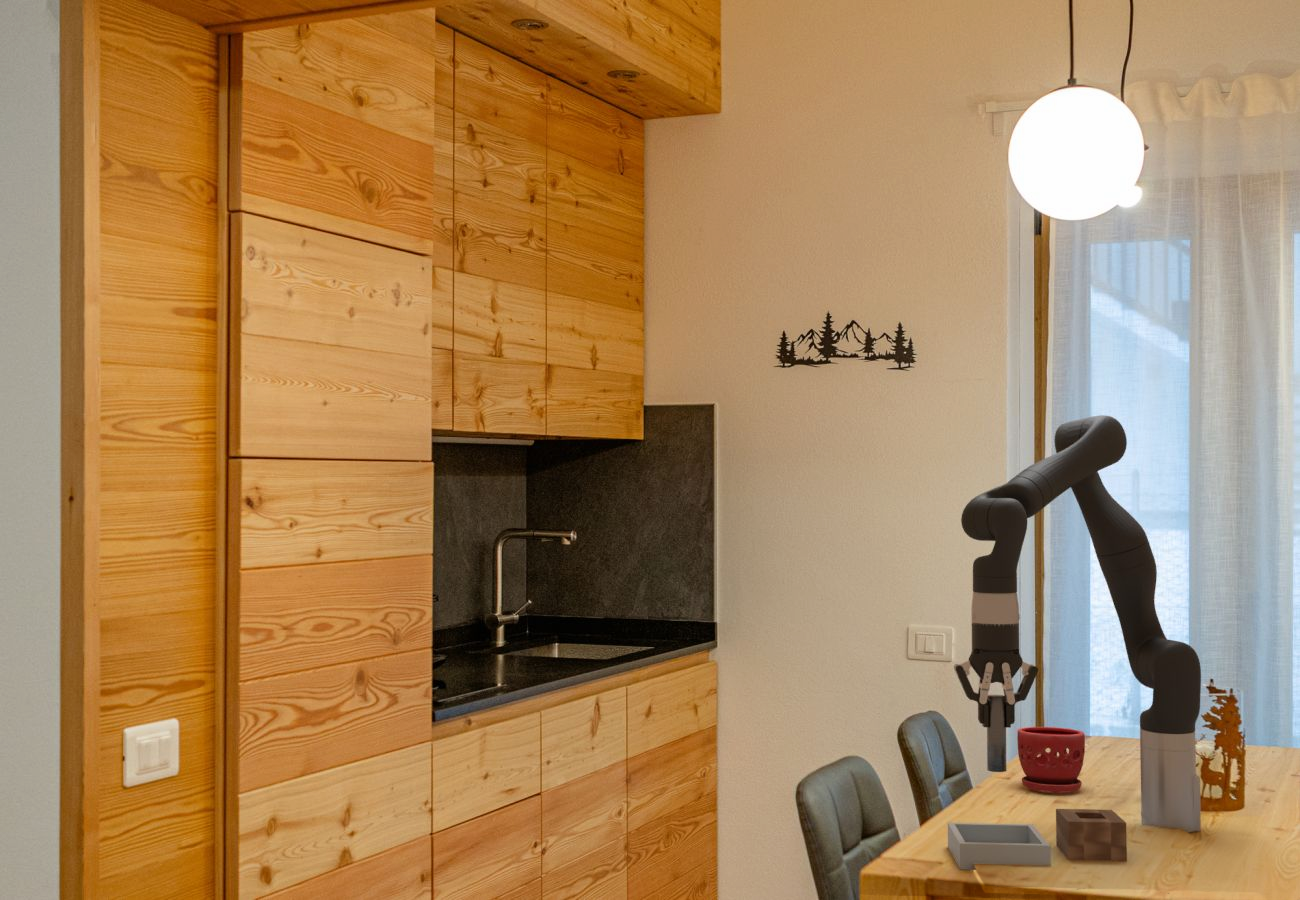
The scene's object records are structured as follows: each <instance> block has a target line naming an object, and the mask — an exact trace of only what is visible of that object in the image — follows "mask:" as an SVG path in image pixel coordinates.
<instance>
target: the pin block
mask: <svg viewBox="0 0 1300 900" xmlns="http://www.w3.org/2000/svg"><path fill="white" fill-rule="evenodd" d="M1055 834H1056V835H1055V839H1056V841H1055V842H1056V844H1055V845H1056V847H1057V848H1058V849H1059V851H1060V852H1061V853H1062V854H1063V855H1064V856H1065V857H1066V859H1067V860H1068V861H1090V862H1091V861H1095V862H1097V861H1098V862H1099V861H1100V862H1127V861H1128V850H1127V849H1128V848H1127V847H1128V846H1127V845H1128V844H1127V843H1128V842H1127V841H1128V840H1127V822H1126V821H1125V820H1124V819H1123V818H1122V817H1121V816H1119V815H1118V814H1117V813H1116V812H1115V811H1114V810H1113V809H1096V808H1095V809H1090V808H1086V809H1085V808H1055Z"/></svg>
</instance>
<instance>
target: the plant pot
mask: <svg viewBox="0 0 1300 900" xmlns="http://www.w3.org/2000/svg"><path fill="white" fill-rule="evenodd" d="M1016 735H1017V736H1016V737H1017V739H1016V740H1017V741H1016V742H1017V754H1018V760H1019V763H1020V766H1021V769H1022V772H1023V773H1024V774H1025V776H1022V778H1021V783H1022V784H1023V786H1024V787H1025V788H1027V789H1029V790H1032V791H1034V792H1038V793H1039V792H1040V793H1045V794H1055V795H1060V794H1070V793H1073V792H1077V791H1078V790H1079V789H1080V788H1081V786H1082V780H1080V779H1078V777H1079V776H1080V774H1081V771H1082V769H1083V765H1084V759H1085V758H1084V757H1085V752H1086V751H1085V749H1086V748H1085V747H1086V740H1085V739H1086V738H1085V736H1086V734H1085V732H1083V731H1082V730H1078V729H1072V728H1065V727H1055V726H1053V727H1050V726H1030V727H1023V728H1022V727H1021V728H1018V729H1017V734H1016ZM1047 749H1049V750H1050V751H1049V752H1047V751H1046V750H1047ZM1067 749H1068V751H1067Z"/></svg>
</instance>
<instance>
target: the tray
mask: <svg viewBox="0 0 1300 900" xmlns="http://www.w3.org/2000/svg"><path fill="white" fill-rule="evenodd" d="M947 848H948V850H949V852H950V853H951V855H952V857H953V859H954V861H955V863H956V864H957V866H958V869H959V870H966V871H967V870H971V871H977V868H976V866H975V865H976V864H977V865H978V864H979V865H985V864H986V865H1018V866H1019V865H1020V866H1051V865H1052V861H1051V860H1052V858H1051V857H1052V854H1051V851H1052V850H1051V849H1052V848H1051V845H1050V843H1049V842H1048V840H1046V838H1045V837H1044V836H1043V834H1041V832H1040V831H1039V830H1038V828H1037V827H1036V826H1035V825H1034V824H1031V823H1027V824H1025V823H988V822H987V823H985V822H983V823H982V822H974V823H973V822H947ZM974 864H975V865H974Z"/></svg>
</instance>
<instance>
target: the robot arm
mask: <svg viewBox="0 0 1300 900" xmlns="http://www.w3.org/2000/svg"><path fill="white" fill-rule="evenodd" d="M1127 441H1128V439H1127V435H1126V432H1125V428H1124V427H1123V425H1122V423H1121V422H1119V420H1118V419H1117V418H1114V417H1113V416H1111V415H1105V414H1104V415H1103V414H1102V415H1100V414H1099V415H1095V416H1089V417H1085V418H1080V419H1076V420H1070V421H1068V422H1065V423H1062V424H1061V425H1059V426H1058V427H1057V429H1056V430H1055V434H1054V448H1055V454H1052V455H1050V456H1047V457H1046V458H1044V459H1041V460H1039V461H1037V462H1035V463H1033V464H1031V465H1029V466H1027V468H1025V469H1023V470H1022V471H1020V472H1019V473H1018V474H1016V475H1015V476H1014V477H1013V478H1011V479H1010V480H1009V481H1008V482H1005V484H1002V485H999V486H996V487H994V488H992V489H989V490H986V491H985V492H982V493H980V494H978V495H977V496H975V497H974V498H971V500H970V501H969V502H968V503H967V504H966V506H965V507H964V508H963V511H962V513H961V519H960V522H961V527H962V529H963V531H964V533H965V534H966V535H967V536H968V537H969V538H970V539H973V540H976V541H980V542H981V541H984V542H987V541H988V542H989V541H990V542H994V545H993V548H992V550H991V553H989V554H987V555H983V556H978V557H976V558H975V560H974V561H973V563H972V600H971V653H970V655H969V657H968V660H966V661H965V662H962V663H960V664H959V663H956V664H954V666H953V669H954V672H955V674H956V676H957V678H958V680H959V683H960V685H961V687H962V690H963V691H964V694H965V696H966V697H967V698H968V699H969V700H970V701H974V702H977V719H978V722H979V723H980V725H982V727H983V728H987V727H988V726H989V722H988V704H987V697H988V695H989V692H990V687H991V684H995V683H1000V684H1001V688H1002V690H1003V691H1002V692H1003V695H1004V696H1006V729H1007V728H1010V729H1011V727H1012V725H1014V723H1015V721H1016V716H1015V713H1016V711H1015V709H1016V707H1015V706H1016V704H1017V703H1019V702H1021V701H1026V700H1027V698H1028V696H1029V695H1028V694H1029V693H1030V690H1031V688H1032V685H1033V683H1034V682H1035V679H1036V677H1037V676H1038V675H1037V674H1038V672H1039V668H1038V667H1037V666H1035V665H1034V664H1029V663H1027V662H1025V661H1023V658H1022V656H1021V653H1020V618H1021V617H1020V606H1019V600H1018V599H1019V598H1018V572H1017V571H1018V566H1019V560H1020V557H1021V553H1022V549H1023V544H1024V541H1025V539H1026V533H1027V530H1028V519H1029V518H1031V517H1034V516H1035V515H1037V514H1038V513H1040V511H1041V510H1043V509H1044V508H1046V507H1047V506H1048V505H1049V504H1051V503H1052V502H1053V501H1054V500H1055V499H1057V498H1058V497H1059V496H1060V495H1062V494H1063V493H1064V492H1066V491H1068V490H1070V489H1071V491H1072V493H1073V494H1074V497H1075V499H1076V502H1077V504H1078V506H1079V509H1080V511H1081V514H1082V517H1083V518H1084V521H1085V522H1084V523H1085V524H1086V527H1087V530H1088V533H1089V536H1090V538H1091V542H1092V545H1093V548H1094V552H1095V555H1096V558H1097V560H1098V564H1099V566H1100V569H1101V571H1102V572H1101V573H1102V574H1103V577H1104V579H1105V582H1106V585H1107V588H1108V592H1109V594H1110V597H1111V601H1112V602H1113V606H1114V609H1115V612H1116V615H1117V617H1118V621H1119V626H1120V628H1121V632H1122V637H1123V641H1124V645H1125V651H1126V655H1127V658H1128V662H1129V666H1130V669H1131V672H1132V674H1133V675H1134V677H1135V680H1137V681H1138V683H1140V684H1141V685H1143V686H1144V687H1146V688H1149V689H1152V691H1153V692H1152V701H1151V702H1152V703H1151V705H1150V707H1149V708H1148V709H1146V710H1143V711H1142V712H1141V713H1140V716H1139V742H1140V743H1139V744H1140V745H1139V746H1140V748H1139V749H1140V751H1139V753H1140V759H1139V760H1140V805H1141V806H1140V809H1141V810H1140V816H1141V817H1140V819H1141V823H1140V824H1141V826H1146V827H1147V826H1148V827H1151V826H1152V827H1158V828H1166V829H1182V830H1184V831H1185V832H1187V833H1193V832H1201V831H1202V827H1201V825H1202V823H1201V822H1202V819H1201V817H1202V815H1201V813H1202V812H1201V811H1202V810H1201V778H1200V776H1199V775H1198V774H1197V760H1196V759H1197V755H1196V754H1197V753H1196V751H1197V750H1196V748H1197V747H1196V745H1197V743H1196V724H1197V720H1198V718H1199V715H1200V711H1201V710H1200V709H1201V691H1202V690H1201V689H1202V688H1201V686H1202V669H1201V661H1200V659H1199V655H1198V654H1197V652H1196V650H1195V649H1194V647H1192V646H1191V645H1189V644H1188V643H1185V642H1183V641H1179V640H1173V639H1168V638H1167V636H1166V635H1165V633H1164V630H1163V629H1162V628H1163V627H1162V626H1161V623H1160V620H1159V617H1158V614H1157V611H1156V610H1157V609H1156V605H1155V595H1156V587H1157V586H1156V585H1157V576H1158V575H1157V574H1158V573H1157V570H1158V569H1157V564H1156V559H1155V555H1154V554H1153V550H1152V547H1151V544H1150V541H1149V539H1148V536H1147V533H1146V531H1145V530H1144V527H1143V526H1142V525H1141V524H1140V523H1139V521H1138V520H1136V519H1135V518H1134V516H1133V515H1132V514H1130V513H1129V512H1128V511H1127V510H1126V509H1125V508H1124V507H1123V506H1122V505H1120V503H1118V502H1117V501H1116V500H1115V499H1114V498H1113V496H1112V495H1111V494H1110V493H1109V491H1108V490H1107V488H1106V487H1105V485H1104V483H1103V480H1102V478H1101V476H1100V473H1099V471H1101V470H1104V469H1105V468H1107V467H1110V466H1112V465H1115V464H1116V463H1118V462H1119V461H1121V460H1122V458H1123V456H1124V455H1125V453H1126V450H1127V445H1128V442H1127ZM970 668H972V669H973V671H974V672H975V673H976V675H977V676H978V678H979V681H978V689H977V692H975V691H974V688H973V686H972V685H971V682H970V680H969V678H968V676H969V675H970V674H971V672H970ZM1020 669H1021V675H1022V676H1023V678H1022V680H1021V682H1020V684H1019V686H1018V688H1017V691H1016V692H1014V685H1013V679H1014V676H1016V674H1017V673H1018V671H1019V670H1020Z"/></svg>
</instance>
